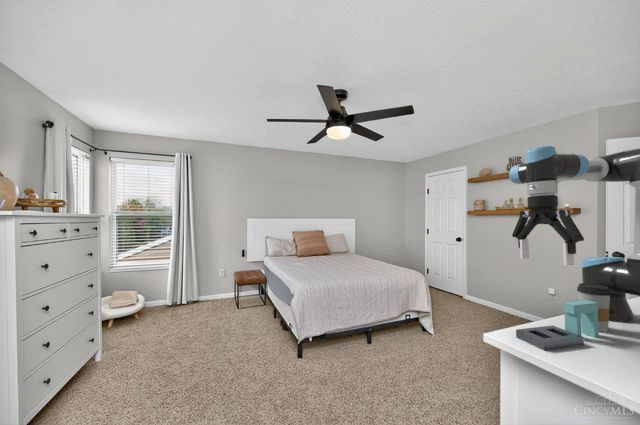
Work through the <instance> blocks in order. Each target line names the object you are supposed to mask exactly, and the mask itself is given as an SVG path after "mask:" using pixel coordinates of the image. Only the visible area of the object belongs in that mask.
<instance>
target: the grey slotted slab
mask: <svg viewBox="0 0 640 425" xmlns="http://www.w3.org/2000/svg"><path fill="white" fill-rule="evenodd" d="M515 335H516V336H515V338H517V339H519V340H521V341H523V342H525V343H528V344H530V345H532V346H534V347H536V348H538V349H540V350H543V351H544V352H546V351H551V349H552V350H558V349H565V348H573V347H582V346H585V336H580V335H577V334H574V333H572V332H569V331H566V330H565V328H564V329H563V328H560V327H558V326H556V325H546V326H544V325H543V326H538V327H537V326H535V327H530V328H529V327H526V328H518V329H515Z"/></svg>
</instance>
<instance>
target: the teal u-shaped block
mask: <svg viewBox="0 0 640 425" xmlns="http://www.w3.org/2000/svg"><path fill="white" fill-rule="evenodd" d="M563 312H564V330H566V331H569V332H572V333H574V334H577V335H580V336H582V334H583V335H587V336H589V337H592V338H595V339H596V338H599V332H598V313H597V312H598V303H596V302H592V301H588V300H584V301H579V300H576V301H575V300H573V301H564V302H563ZM582 337H583V336H582Z"/></svg>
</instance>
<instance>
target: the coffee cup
mask: <svg viewBox="0 0 640 425" xmlns="http://www.w3.org/2000/svg"><path fill="white" fill-rule="evenodd" d="M576 288H577V289H576V291H577V296H578V301H584V300H588V301H592V302H596V303H598V312H597V313H598V333H607V332H608V331H609V322H610V320H609V310H610V306H609V304H610V295H611V294H610V291H609V289H608V287H606V286H602V285H597V284H588V283H583V282H581V283H578V286H577V287H576Z"/></svg>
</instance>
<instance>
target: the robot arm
mask: <svg viewBox="0 0 640 425" xmlns="http://www.w3.org/2000/svg"><path fill="white" fill-rule="evenodd" d="M524 162H525V163H519V164H516V165H514V166H512V167H511V168H510V170H509V172H508V177H509V180H510V181H511V183H513V184H515V185H521V184H522V185H524V184H526V194H527V196H528V197H527V201H526V203H527V208H528V210H521V211H519V217H518V219H517V220H518V221H517V223H516V224H515V228H514V229H513V232H512V234H511V236H512V237H513V238H516V239H517V243H518V248H519V254H520V259H521V260H522V259H524V260H525V259H530V249H529V245H530V244H529V238H527V237H528V236H529V235H530V233H531V232H532V231H533V230H534V229H535V227H536V226H538V225H549V226H550V227H552V229H553V230H554V231H556V233H557V234H558V235H559V237H561V238H562V239H563V240H564V242H562V254H563V265H564V266H575V261H574V260H575V259H574V258H575V256H574V255H576V253H577V243H579V242H584V241H585V237H584V236H583V234H582V233H581V231H580V229H579V228H578V226H577V225H576V223H575V222H574V220H573V218H572V217H571V212H570V209H558V206H559V198H558V195H557V194H558V190H559V189H558V182H561V181H580V180H581V181H583V180H585V181H587V182H593V183H594V182H609V183H610V182H611V183H615V182H616V183H617V182H618V183H620V182H622V183H623V182H629V184H628V185H630V186H631V187H633V188H634V189H635V190H634V191H635V198H634V226H633V227H634V228H633V253H632V254H630V255H629V256H626V260H625V258H624V257H621V256H620V257H619V256H594V257H585V258H583V259H582V261H581V262H582V263H581V273H582V283H588V284H597V285H602V286H606V287H608V289H609V291H610V294H611V295H610V304H609V306H610V310H609V322H610V321H611V322H619V323H621V322H622V323H628V322H629V323H630V322H634V320H635V317H634V316H635V315H634V312H633V310H632V308H631V306H630V304H629V302H628V300H627V297H626V296H627V295H626V294H628V295H633V296H639V297H640V148H636V149H630V150H626V151H619V152H615V153H611V154H608V155H603V156H598V157H597V156H595V157H590V158H587V157H586V156H584V155H583V154H575V153H571V154H569V153H566V154H565V153H559V154H558V153H557V151H556V148H555V146H553V145H544V146H537V147H533V148H529V149H527V150H526V152H525V161H524ZM558 217H559V218H560V219H559V218H558ZM560 220H561V221H560Z"/></svg>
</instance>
